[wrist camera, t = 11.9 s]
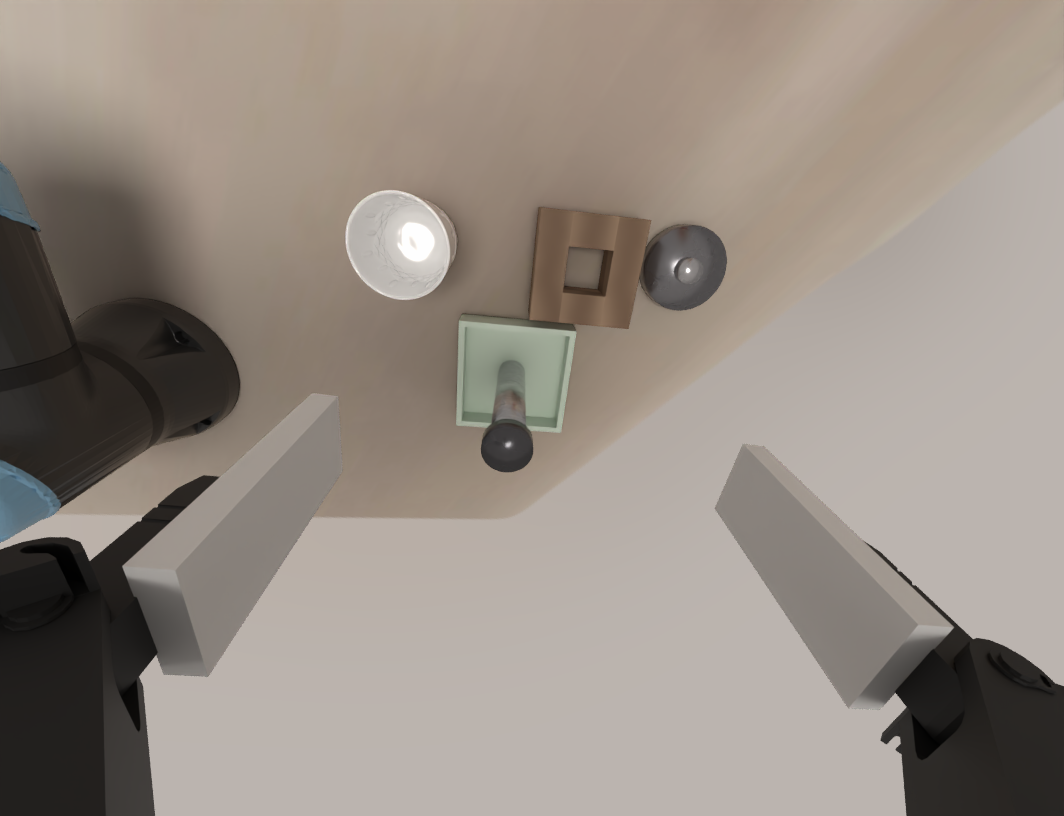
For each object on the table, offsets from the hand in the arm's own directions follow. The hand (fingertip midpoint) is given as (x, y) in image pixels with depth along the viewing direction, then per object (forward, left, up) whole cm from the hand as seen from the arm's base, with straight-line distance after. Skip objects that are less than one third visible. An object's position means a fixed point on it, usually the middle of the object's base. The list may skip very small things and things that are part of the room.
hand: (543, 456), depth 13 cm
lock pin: (0, -9, -32) cm, 33 cm away
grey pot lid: (+16, +4, -33) cm, 36 cm away
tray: (0, -9, -33) cm, 34 cm away
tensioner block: (+6, +3, -33) cm, 33 cm away
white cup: (-10, +4, -33) cm, 35 cm away
